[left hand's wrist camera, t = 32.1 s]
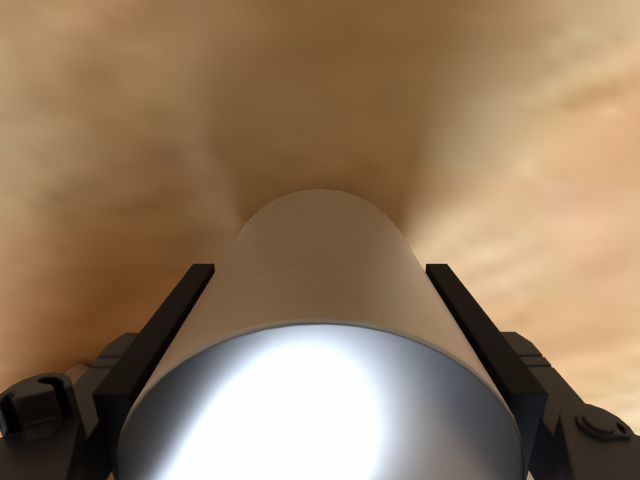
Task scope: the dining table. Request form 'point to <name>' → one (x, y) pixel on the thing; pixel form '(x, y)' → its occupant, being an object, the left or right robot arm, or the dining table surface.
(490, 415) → the tin
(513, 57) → the dining table surface
